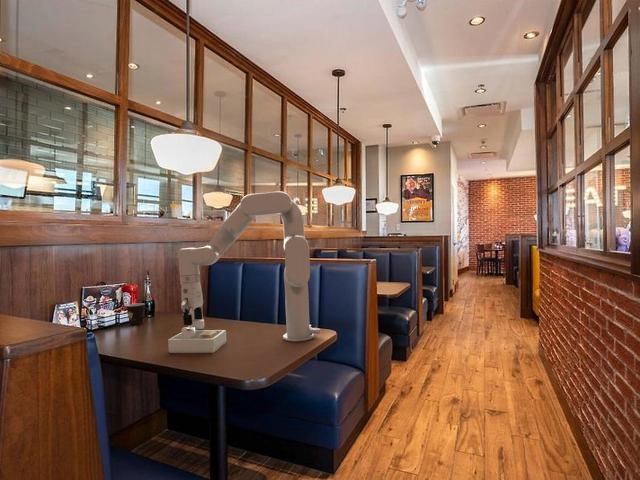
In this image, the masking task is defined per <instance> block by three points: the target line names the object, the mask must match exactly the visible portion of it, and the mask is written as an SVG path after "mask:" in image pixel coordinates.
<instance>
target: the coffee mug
mask: <svg viewBox="0 0 640 480" xmlns="http://www.w3.org/2000/svg"><path fill="white" fill-rule="evenodd" d="M145 310H146V314H145ZM126 311H127V316H128V321H129V322H128V323H129V326H130V325H131V326H133V327H136V326H141V324H142V325H143V324H144V323H145V318H146V317H147V316H148V314H149V308H147V307H146V304H145V303H143V302H137V303H129V304H126Z"/></svg>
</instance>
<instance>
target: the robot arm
mask: <svg viewBox="0 0 640 480" xmlns="http://www.w3.org/2000/svg"><path fill="white" fill-rule="evenodd" d="M264 215H279V216H280V218H281V221H282V228H283V251H284V258H285V259H284V262H285V263H284V264H285V267H284V270H283V282H284V297H285V321H286V326H285V327H286V333H284V334H283V335H282V339H283V340H285V341H287V342H305V341H309V340H312V339H313V338H314V334H317V335H319V334H321V328H318V327H314V328H313V327H312V324H310V306H309V305H310V303H309V301H310V300H309V285H308V284H309V283H308V282H309V280H310V277H311V258H310V246H309V242H308V240H307V238H306V237H305V234H306V233H305V224H304V223H305V222H304V215H303V213H302V210H301V209H300V207H299V206H298V203H296V202H295V201H294V200H292V199H291V196H290V195H289V194H288V193H286V192H284V191H280V190H278V191H271V192H270V191H269V192H260V193H259V192H258V193H250V194H246V195H245V196H243V197H242V198H241V199H240V203H239V204H238V205H237V206H236V207H235V208H234V209H233V210H232V212H231V213H230V214H229V215H228V216H227V217H226V218H225V220H224V221H223V222H222V224H221V226H220V228H219V230H218V231H217V232H216V234H215V235H214V236H213V237H212V239H211V240H210V241H209V242H208V244H206V245H205V246H202V247H197V248H196V247H186V248H180V249H179V250H178V252H177V253H178V254H177V255H178V256H177V257H178V268H179V279H180V280H179V281H180V285H181V292H180V293H181V295H180V296H181V297H180V298H181V305H180V309H181V313H182V317H183V325H184V326H189V325H192V314H191V310H192V308H193V309H196V310H194V318H195V320H196V319H202V318H203V319H204V316H203V317H202V314H203V304H204V296H203V290H202V284H201V274H200V273H201V272H200V266H212V265H213V264H215V263H216V262H218V261H219V260H220V258H222V256H223V255H224V254H225V252H226V251H227V250H229V248H230V247H231V245H232V244H233V243H235V242H236V241H237V240H238V239H239V238H240V237H241V235H242V234H243V233H245V231H246V230H247V228H248V227H249V226H250V225H251V224H252V222H254V221H255V219H256V218H257V217H258V216H264Z"/></svg>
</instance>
